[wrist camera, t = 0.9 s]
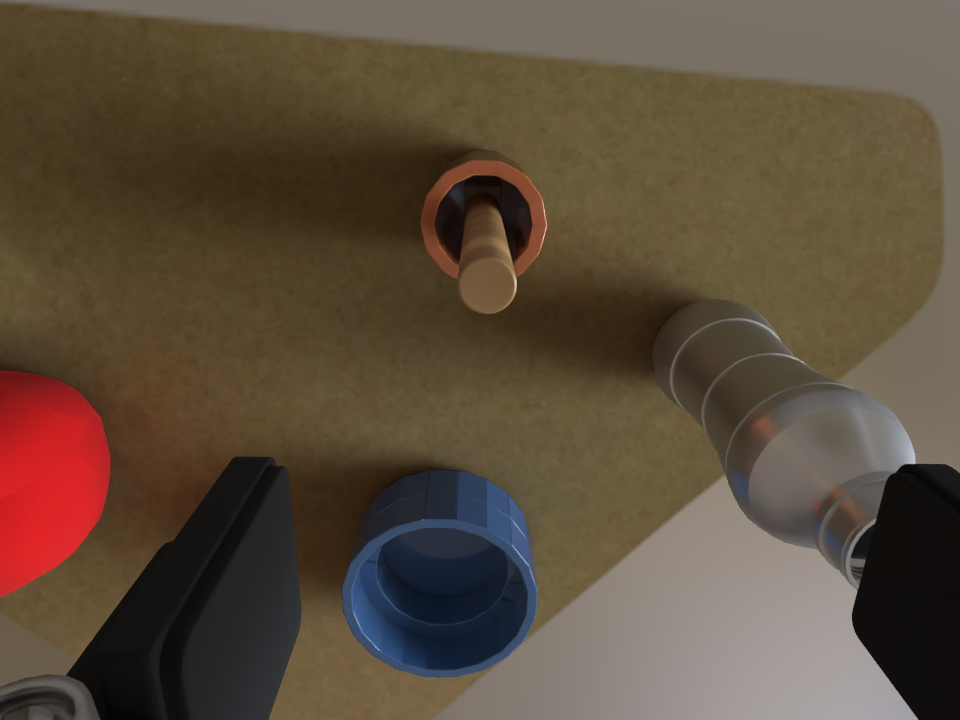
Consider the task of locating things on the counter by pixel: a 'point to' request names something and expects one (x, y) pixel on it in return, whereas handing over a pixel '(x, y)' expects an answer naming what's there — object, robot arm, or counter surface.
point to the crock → (448, 210)
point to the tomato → (46, 475)
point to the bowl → (441, 575)
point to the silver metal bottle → (782, 430)
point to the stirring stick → (485, 251)
